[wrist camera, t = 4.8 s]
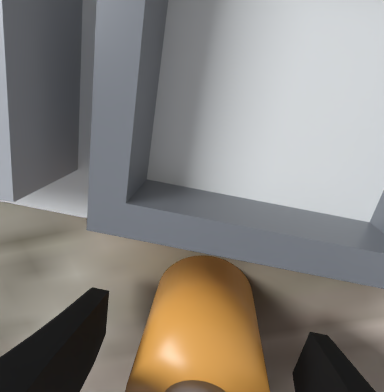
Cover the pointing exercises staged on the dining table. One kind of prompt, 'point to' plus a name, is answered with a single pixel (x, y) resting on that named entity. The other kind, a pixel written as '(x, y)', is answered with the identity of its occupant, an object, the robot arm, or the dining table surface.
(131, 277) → the dining table surface
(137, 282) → the dining table surface
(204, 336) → the cap
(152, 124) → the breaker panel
